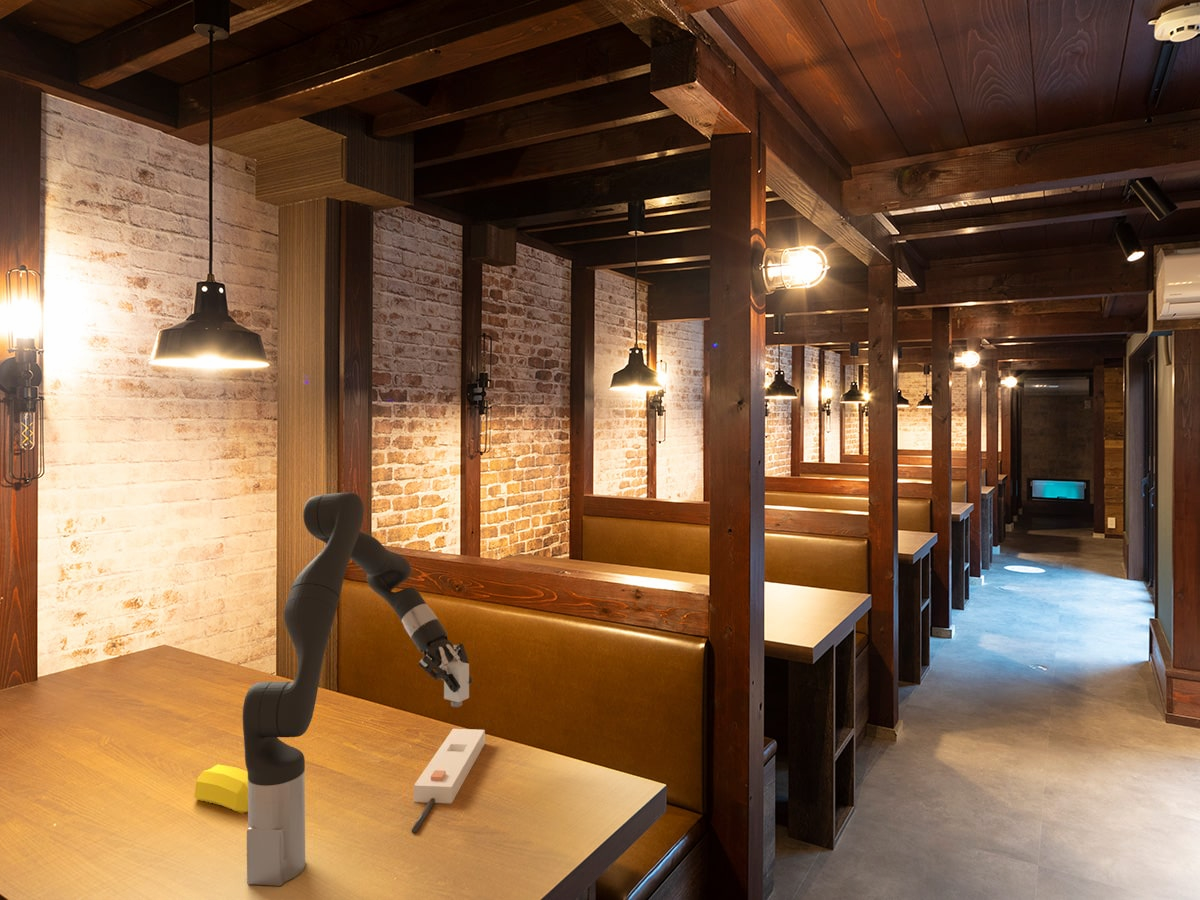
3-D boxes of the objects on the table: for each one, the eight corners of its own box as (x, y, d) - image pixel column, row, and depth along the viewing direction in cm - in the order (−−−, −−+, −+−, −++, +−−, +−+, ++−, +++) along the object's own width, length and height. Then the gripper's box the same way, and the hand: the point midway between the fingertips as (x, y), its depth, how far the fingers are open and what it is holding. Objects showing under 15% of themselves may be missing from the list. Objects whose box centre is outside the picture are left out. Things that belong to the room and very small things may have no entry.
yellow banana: (217, 785, 166) (184, 801, 159) (216, 755, 166) (184, 769, 159) (277, 803, 158) (245, 820, 151) (276, 771, 158) (245, 787, 151)
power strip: (434, 834, 146) (434, 812, 146) (393, 832, 147) (393, 810, 147) (484, 743, 188) (484, 726, 188) (452, 742, 189) (452, 725, 188)
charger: (468, 704, 177) (469, 663, 177) (458, 709, 174) (459, 667, 174) (454, 701, 180) (454, 660, 179) (444, 705, 176) (444, 664, 176)
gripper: (411, 624, 174) (451, 687, 168) (452, 612, 186) (491, 669, 180) (394, 644, 177) (433, 706, 171) (436, 630, 189) (474, 688, 183)
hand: (463, 687), depth 176 cm, fingers closed on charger, 3 cm apart
